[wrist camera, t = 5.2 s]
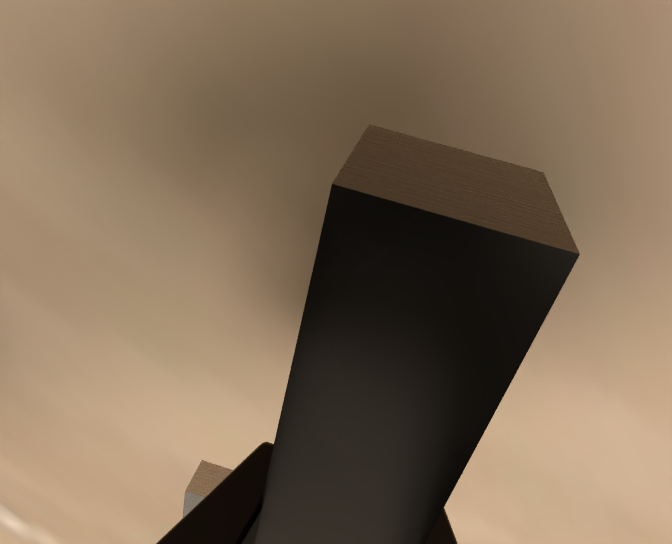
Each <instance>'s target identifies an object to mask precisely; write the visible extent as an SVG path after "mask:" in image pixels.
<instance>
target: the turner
mask: <svg viewBox="0 0 672 544" xmlns="http://www.w3.org/2000/svg"><path fill="white" fill-rule="evenodd" d="M579 255H580V254H579V251H578V249H577V247H576V245H575V242H574V240H573V238H572V236H571V233H570V231H569V229H568V227H567V225H566V222H565V220H564V218H563V216H562V213H561V211H560V209H559V207H558V204H557V202H556V200H555V198H554V195H553V193H552V191H551V189H550V187H549V184H548V182H547V180H546V178H545V175H544V173H543V172H540V171H536V170H532V169H529V168H525V167H521V166H518V165H514V164H510V163H507V162H503V161H500V160H496V159H492V158H489V157H485V156H481V155H478V154H474V153H470V152H467V151H463V150H460V149H456V148H452V147H449V146H445V145H441V144H438V143H434V142H430V141H427V140H423V139H419V138H416V137H412V136H409V135H405V134H401V133H398V132H394V131H390V130H387V129H383V128H379V127H376V126H372V125H369V126H368V128H367V129H366V131H365V132H364V134H363V136H362V137H361V139H360V140H359V142H358V144H357V145H356V147H355V148H354V150H353V152H352V153H351V155H350V156H349V158H348V159H347V161H346V163H345V164H344V166H343V167H342V169H341V171H340V172H339V174H338V175H337V177H336V179H335V180H334V182H333V183H332V187H331V191H330V196H329V200H328V205H327V209H326V214H325V218H324V223H323V227H322V232H321V236H320V241H319V245H318V250H317V254H316V259H315V263H314V268H313V272H312V276H311V281H310V285H309V290H308V294H307V299H306V303H305V308H304V312H303V317H302V321H301V326H300V330H299V335H298V339H297V344H296V348H295V353H294V357H293V362H292V366H291V371H290V375H289V379H288V384H287V388H286V393H285V397H284V402H283V406H282V411H281V415H280V420H279V424H278V429H277V433H276V438H275V442H274V447H273V451H272V456H271V460H270V465H269V469H268V473H267V478H266V482H265V487H264V491H263V496H262V500H261V505H262V506H263V508H262V512H261V516H260V521H259V525H258V530H257V534H256V538H255V543H254V544H424V543H425V541H426V539H427V537H428V536H429V534H430V532H431V530H432V528H433V526H434V524H435V523H436V521H437V519H438V517H439V515H440V513H441V511H442V510H443V508H444V506H445V504H446V502H447V500H448V498H449V497H450V495H451V493H452V491H453V489H454V487H455V485H456V484H457V482H458V480H459V478H460V476H461V474H462V472H463V470H464V469H465V467H466V465H467V463H468V461H469V459H470V457H471V456H472V454H473V452H474V450H475V448H476V446H477V444H478V443H479V441H480V439H481V437H482V435H483V433H484V431H485V430H486V428H487V426H488V424H489V422H490V420H491V418H492V417H493V415H494V413H495V411H496V409H497V407H498V405H499V404H500V402H501V400H502V398H503V396H504V394H505V392H506V391H507V389H508V387H509V385H510V383H511V381H512V379H513V378H514V376H515V374H516V372H517V370H518V368H519V366H520V365H521V363H522V361H523V359H524V357H525V355H526V353H527V352H528V350H529V348H530V346H531V344H532V342H533V340H534V338H535V337H536V335H537V333H538V331H539V329H540V327H541V325H542V324H543V322H544V320H545V318H546V316H547V314H548V312H549V311H550V309H551V307H552V305H553V303H554V301H555V299H556V298H557V296H558V294H559V292H560V290H561V288H562V286H563V285H564V283H565V281H566V279H567V277H568V275H569V273H570V272H571V270H572V268H573V266H574V264H575V262H576V260H577V259H578V257H579ZM232 471H233V470H230V469H227V468H224V467H221V466H218V465H215V464H212V463H209V462H206V461H203V460H202V461H201V463H200V464H199V466H198V468H197V470H196V472H195V474H194V476H193V477H192V479H191V481H190V483H189V485H188V487H187V489H186V491H185V499H184V510H183V518H184V517H185V516H186V515H187V514H188V513H189V512H190V511H191V510H192V509H193V508H194V507H195V506H196V505H197V504H198V503H200V502H201V501H202V500H203V499H204V498H205V497H206V496H207V495H208V494H209V493H210V492H211V491H212V490H213V489H214V488H215V487H216V486H217V485H218V484H220V483H221V482H222V481H223V480H224V479H225V478H226V477H227V476H228V475H229V474H230V473H231V472H232Z"/></svg>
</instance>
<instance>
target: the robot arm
mask: <svg viewBox="0 0 672 544" xmlns="http://www.w3.org/2000/svg"><path fill="white" fill-rule="evenodd" d="M273 447H274V444H272V443H269V442H264V443H262V444H261V445H259V446H258V447H257V448H256V449H255V450H254V451H253V452H252V453H251V454H250V455H249V456H248V457H247V458H246V459H245V460H244V461H243V462H242V463H241V464H240V465H238V466H237V467H236V468H235V469H234V470H233V471H232V472H231V473H230V474H229V475H228V476H227V477H226V478H225V479H224V480H223V481H222V482H221V483H220V484H218V485H217V486H216V487H215V488H214V489H213V490H212V491H211V492H210V493H209V494H208V495H207V496H206V497H205V498H204V499H203V500H202V501H201V502H200V503H198V504H197V505H196V506H195V507H194V508H193V509H192V510H191V511H190V512H189V513H188V514H187V515H186V516H185V517H184V518H183V519H182V520H181V521H180V522H178V523H177V524H176V525H175V526H174V527H173V528H172V529H171V530H170V531H169V532H168V533H167V534H166V535H165V536H164V537H163V538H162V539H161V540H160V541H158V542H157V543H156V544H254V543H255V538H256V534H257V530H258V525H259V521H260V516H261V512H262V508H263V506H262V505H261V500H262V496H263V491H264V487H265V482H266V478H267V473H268V469H269V465H270V460H271V456H272V451H273ZM424 544H457V541H456V538H455V536H454V533H453V530H452V528H451V525H450V522H449V520H448V517H447V514H446V512H445V509H444V508H443V510H442V511H441V513H440V515H439V517H438V519H437V521H436V523H435V524H434V526H433V528H432V530H431V532H430V534H429V536H428V537H427V539H426V541H425V543H424Z"/></svg>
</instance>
